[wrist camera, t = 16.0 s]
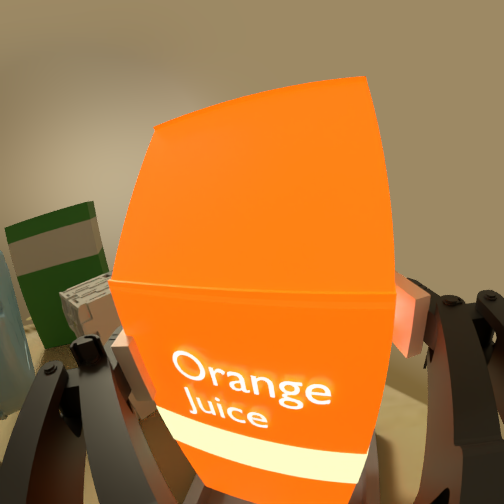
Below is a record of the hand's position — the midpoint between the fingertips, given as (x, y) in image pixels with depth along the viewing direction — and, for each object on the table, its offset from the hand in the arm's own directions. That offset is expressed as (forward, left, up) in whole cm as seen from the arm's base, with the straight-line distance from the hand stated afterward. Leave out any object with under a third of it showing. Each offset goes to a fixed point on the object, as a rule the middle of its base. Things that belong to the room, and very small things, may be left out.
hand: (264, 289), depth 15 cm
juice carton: (+1, -4, -11) cm, 12 cm away
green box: (-41, +17, -17) cm, 48 cm away
